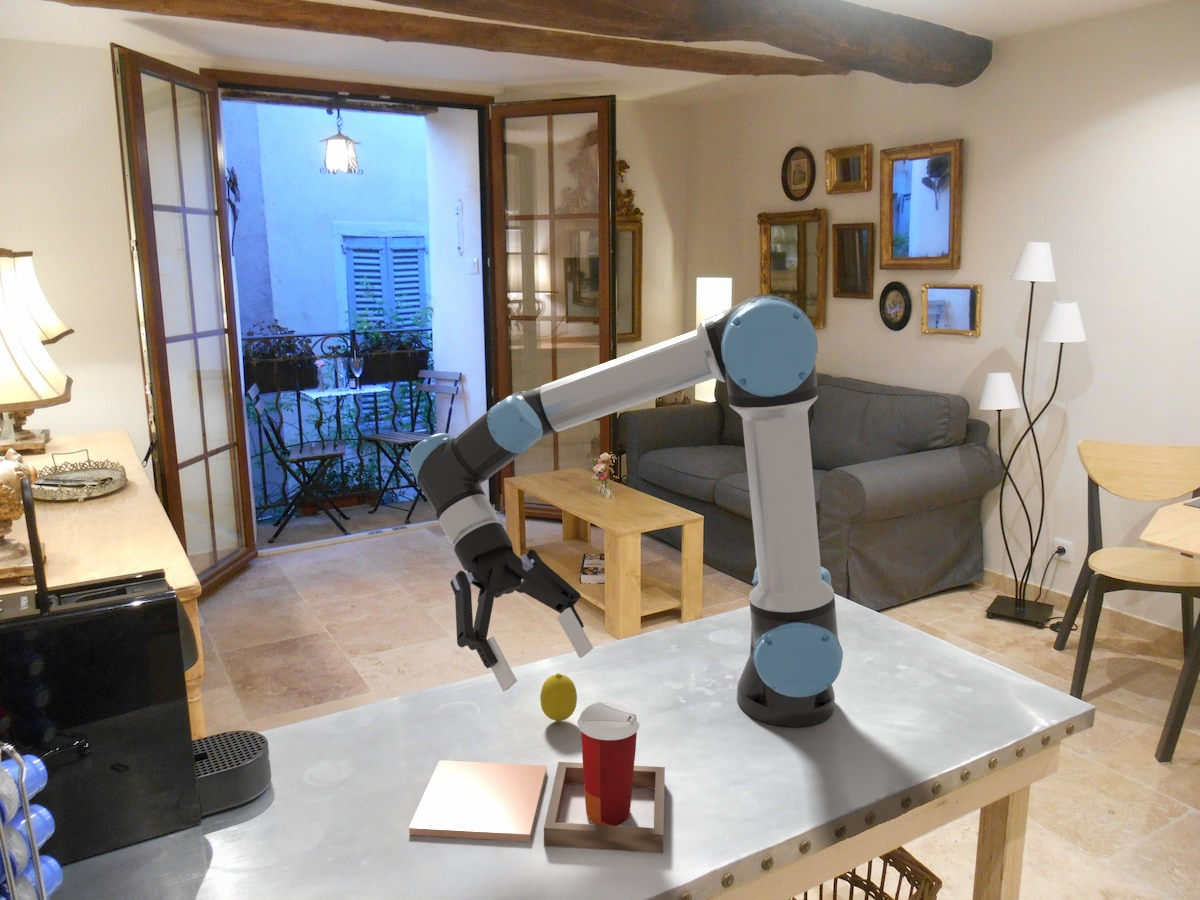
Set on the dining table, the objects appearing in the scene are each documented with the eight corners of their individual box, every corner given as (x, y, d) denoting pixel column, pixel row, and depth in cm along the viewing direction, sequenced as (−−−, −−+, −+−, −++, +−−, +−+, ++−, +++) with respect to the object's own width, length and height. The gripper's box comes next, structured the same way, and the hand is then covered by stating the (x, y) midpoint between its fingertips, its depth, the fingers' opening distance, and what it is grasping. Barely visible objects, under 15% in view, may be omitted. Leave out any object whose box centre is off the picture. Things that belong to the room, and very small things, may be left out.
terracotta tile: (546, 772, 127) (546, 765, 127) (530, 841, 113) (529, 834, 112) (439, 766, 128) (439, 760, 128) (409, 834, 114) (409, 827, 114)
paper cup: (645, 802, 121) (647, 704, 117) (627, 837, 114) (629, 735, 110) (588, 790, 123) (589, 694, 120) (568, 824, 116) (568, 723, 113)
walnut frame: (664, 783, 125) (664, 767, 124) (663, 853, 111) (663, 834, 110) (558, 778, 126) (558, 761, 125) (543, 846, 112) (543, 828, 111)
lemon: (572, 733, 137) (572, 684, 135) (536, 729, 138) (535, 680, 136) (580, 714, 142) (580, 667, 141) (545, 711, 144) (545, 663, 142)
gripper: (531, 529, 140) (601, 652, 133) (390, 570, 122) (462, 713, 116) (555, 503, 135) (629, 628, 128) (411, 541, 118) (487, 689, 111)
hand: (550, 669), depth 122 cm, fingers open, 13 cm apart
